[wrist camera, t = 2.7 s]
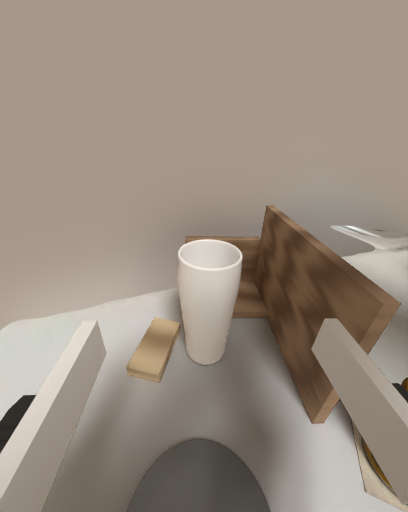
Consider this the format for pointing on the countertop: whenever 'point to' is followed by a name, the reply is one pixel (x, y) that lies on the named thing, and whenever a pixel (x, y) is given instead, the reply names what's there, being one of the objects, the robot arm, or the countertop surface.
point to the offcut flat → (154, 350)
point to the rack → (305, 300)
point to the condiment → (376, 470)
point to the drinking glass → (208, 295)
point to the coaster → (199, 482)
